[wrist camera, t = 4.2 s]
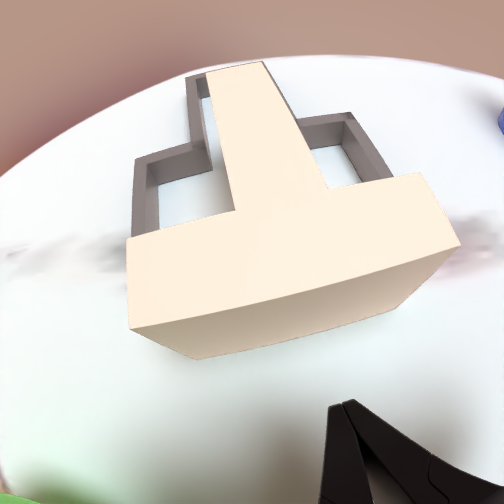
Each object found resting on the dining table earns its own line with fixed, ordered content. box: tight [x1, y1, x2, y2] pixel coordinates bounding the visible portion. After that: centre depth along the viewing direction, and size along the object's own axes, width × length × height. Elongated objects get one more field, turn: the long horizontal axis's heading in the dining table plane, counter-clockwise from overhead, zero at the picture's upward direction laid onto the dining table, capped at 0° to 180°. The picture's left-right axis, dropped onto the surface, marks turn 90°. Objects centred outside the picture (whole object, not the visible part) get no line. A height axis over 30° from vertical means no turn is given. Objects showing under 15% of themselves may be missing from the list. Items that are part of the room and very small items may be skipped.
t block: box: [127, 62, 461, 360], centre depth 16 cm, size 14×12×8 cm
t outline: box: [131, 61, 394, 238], centre depth 22 cm, size 20×17×2 cm
